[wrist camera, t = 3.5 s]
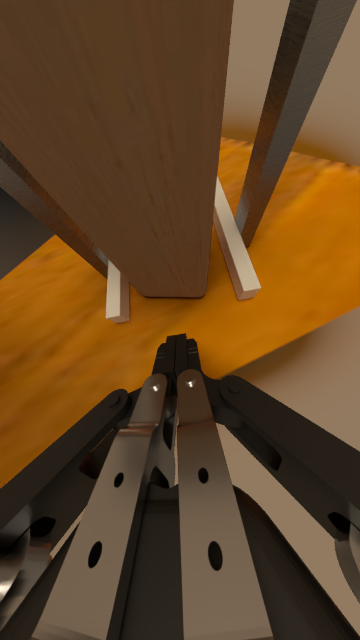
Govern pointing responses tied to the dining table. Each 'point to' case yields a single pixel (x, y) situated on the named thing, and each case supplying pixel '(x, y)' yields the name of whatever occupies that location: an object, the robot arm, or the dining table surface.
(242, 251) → the walled lane
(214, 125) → the wooden block
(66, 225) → the arch
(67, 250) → the dining table surface
